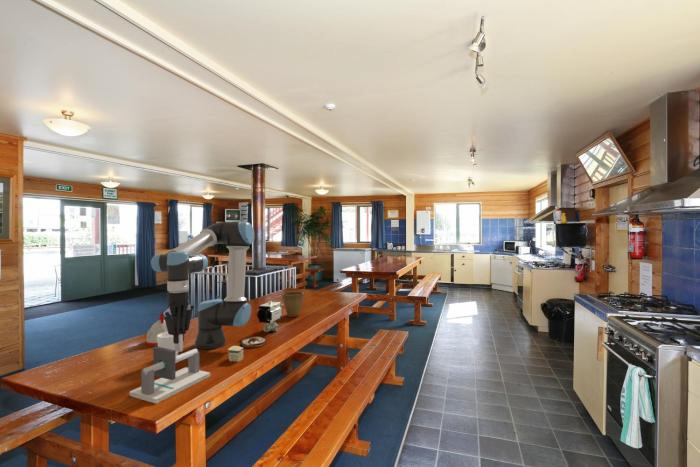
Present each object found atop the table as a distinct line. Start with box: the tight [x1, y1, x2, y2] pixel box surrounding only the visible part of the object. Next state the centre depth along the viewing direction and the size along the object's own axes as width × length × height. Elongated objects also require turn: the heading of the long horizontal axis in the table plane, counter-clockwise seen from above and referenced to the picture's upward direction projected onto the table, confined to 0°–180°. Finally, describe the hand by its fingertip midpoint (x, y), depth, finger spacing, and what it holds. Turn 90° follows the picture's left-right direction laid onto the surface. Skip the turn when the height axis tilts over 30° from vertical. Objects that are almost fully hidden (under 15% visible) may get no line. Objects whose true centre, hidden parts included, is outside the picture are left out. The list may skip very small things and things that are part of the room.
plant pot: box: [282, 291, 304, 318], centre depth 238 cm, size 15×15×16 cm
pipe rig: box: [128, 348, 211, 405], centre depth 130 cm, size 14×24×11 cm, turn 156°
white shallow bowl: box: [241, 336, 267, 349], centre depth 178 cm, size 15×15×4 cm
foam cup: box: [157, 332, 179, 356], centre depth 152 cm, size 10×9×13 cm
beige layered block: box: [227, 345, 245, 363], centre depth 157 cm, size 10×9×6 cm
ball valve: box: [256, 300, 283, 333], centre depth 201 cm, size 18×8×18 cm, turn 163°
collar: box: [152, 346, 176, 380], centre depth 127 cm, size 10×2×11 cm, turn 66°
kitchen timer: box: [145, 313, 168, 347], centre depth 182 cm, size 14×14×15 cm
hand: (178, 350), depth 133 cm, fingers closed
